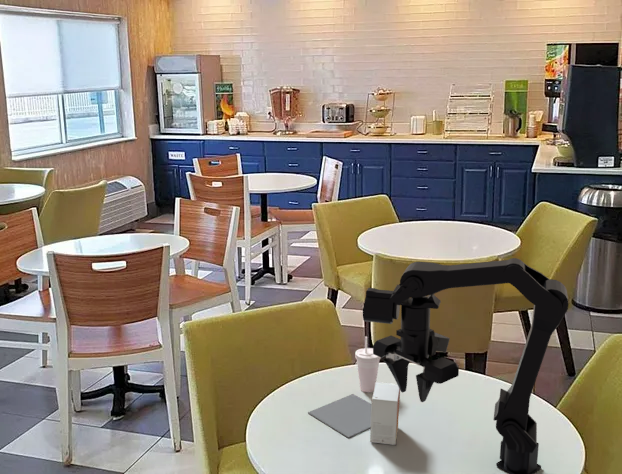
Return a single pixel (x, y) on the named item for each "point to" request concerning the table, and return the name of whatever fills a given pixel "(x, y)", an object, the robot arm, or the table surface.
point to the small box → (385, 413)
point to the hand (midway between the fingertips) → (413, 396)
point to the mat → (346, 415)
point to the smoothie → (367, 368)
